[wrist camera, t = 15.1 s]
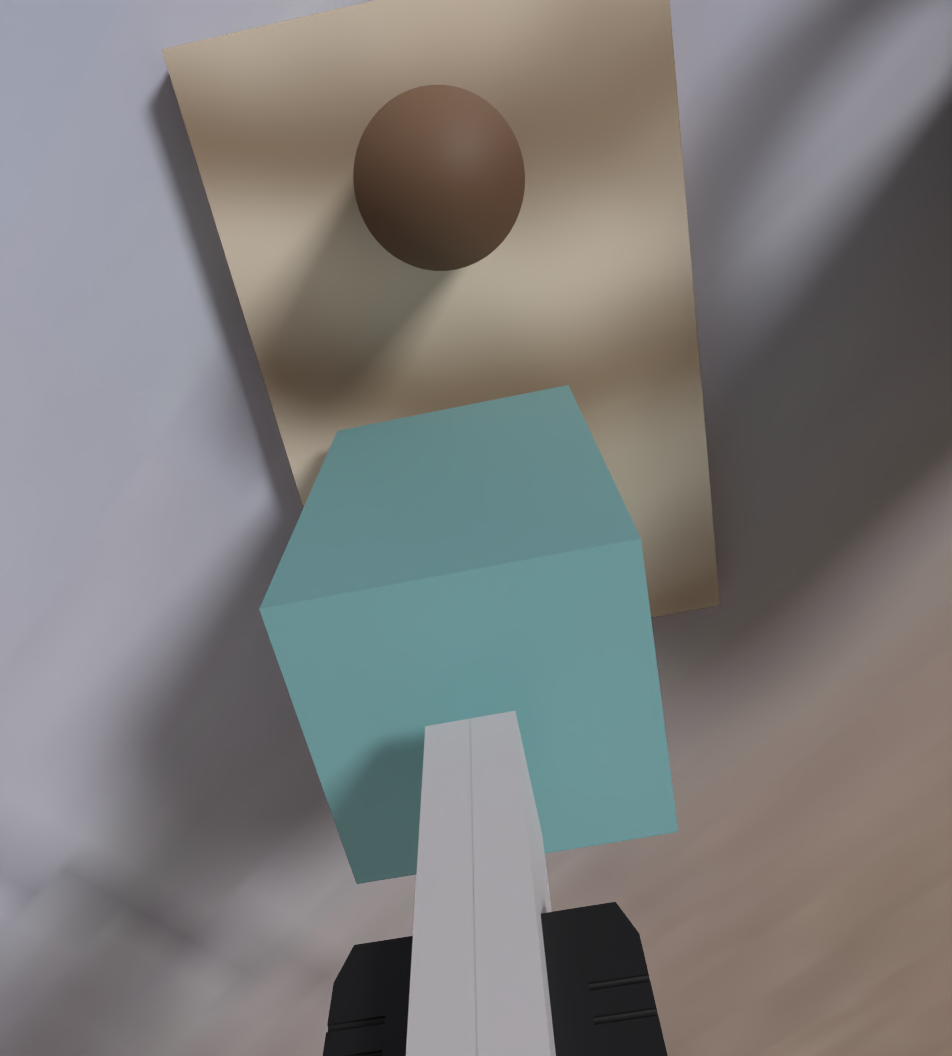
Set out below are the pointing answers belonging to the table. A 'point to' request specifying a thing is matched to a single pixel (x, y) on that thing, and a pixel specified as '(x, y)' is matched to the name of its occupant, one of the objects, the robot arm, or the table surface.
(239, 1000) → the table surface
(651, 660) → the teal sharp-edged block
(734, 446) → the table surface
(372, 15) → the board
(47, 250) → the table surface
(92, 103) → the table surface
